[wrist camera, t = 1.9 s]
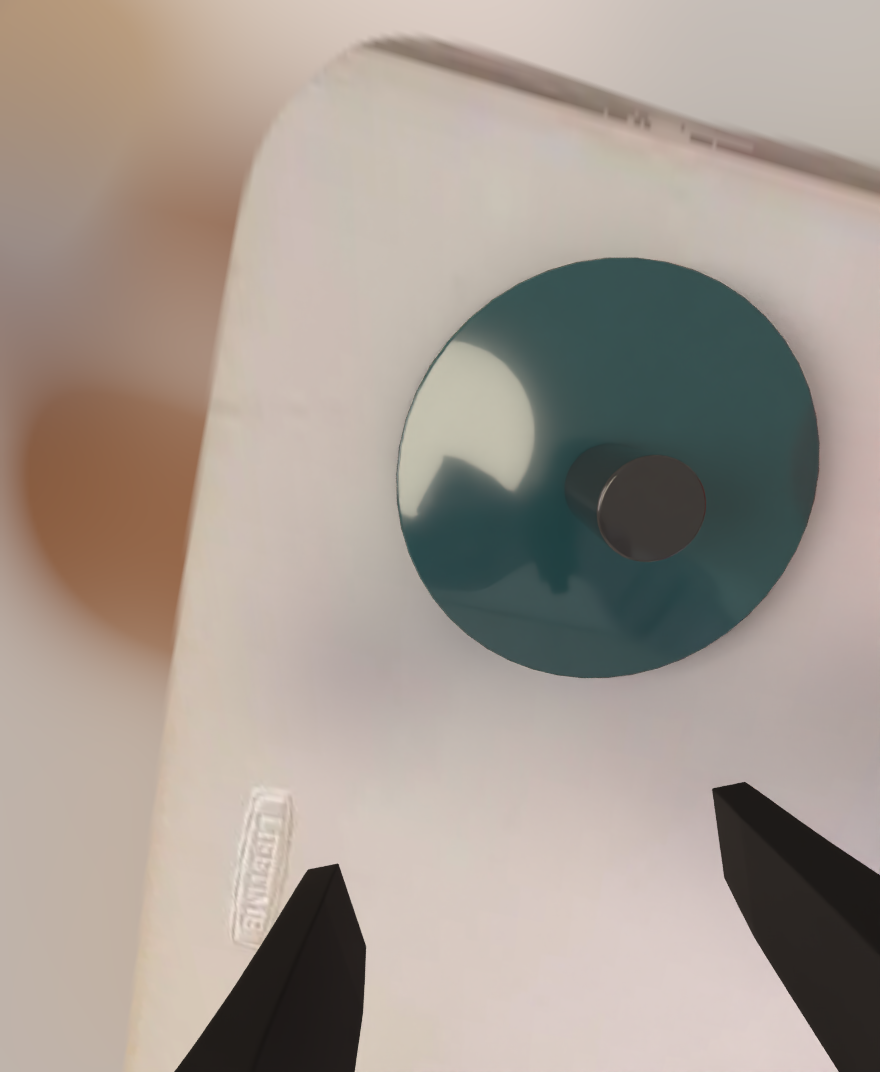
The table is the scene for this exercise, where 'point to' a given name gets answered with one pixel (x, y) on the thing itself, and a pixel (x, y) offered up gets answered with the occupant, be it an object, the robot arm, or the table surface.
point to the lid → (607, 467)
